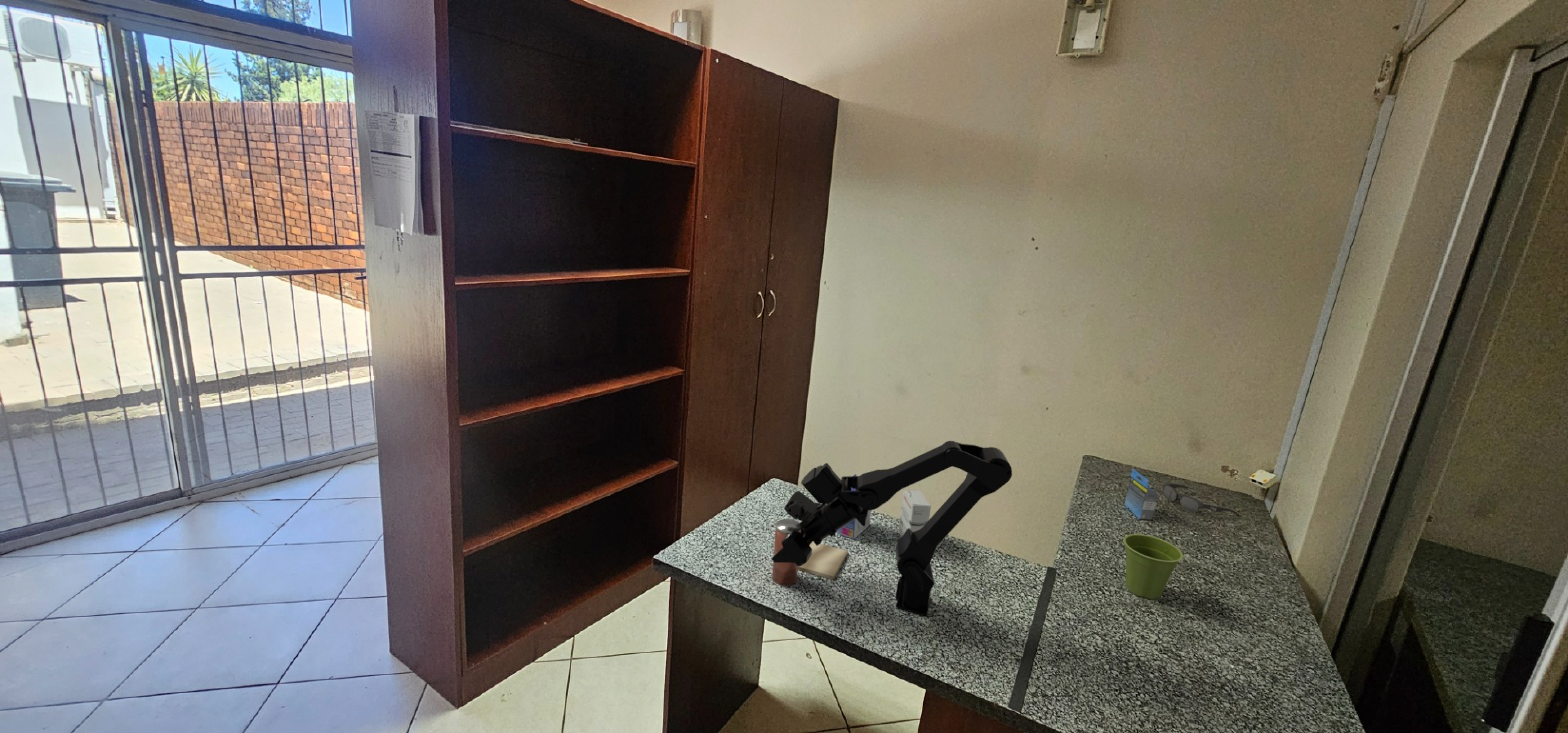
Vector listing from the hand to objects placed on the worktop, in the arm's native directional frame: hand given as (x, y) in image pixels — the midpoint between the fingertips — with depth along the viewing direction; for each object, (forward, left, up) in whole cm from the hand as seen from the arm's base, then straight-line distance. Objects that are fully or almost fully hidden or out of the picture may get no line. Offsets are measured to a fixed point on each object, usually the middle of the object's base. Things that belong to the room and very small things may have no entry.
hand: (780, 550), depth 134 cm
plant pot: (-77, -34, -7) cm, 85 cm away
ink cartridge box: (-9, -29, -7) cm, 31 cm away
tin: (-1, 0, -7) cm, 7 cm away
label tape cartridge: (-83, -80, -7) cm, 116 cm away
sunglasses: (-103, -97, -7) cm, 141 cm away
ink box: (-24, -31, -7) cm, 40 cm away
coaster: (-5, -10, -7) cm, 14 cm away
